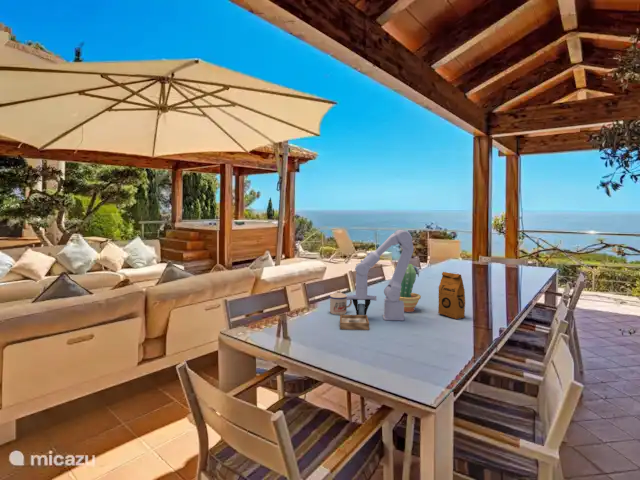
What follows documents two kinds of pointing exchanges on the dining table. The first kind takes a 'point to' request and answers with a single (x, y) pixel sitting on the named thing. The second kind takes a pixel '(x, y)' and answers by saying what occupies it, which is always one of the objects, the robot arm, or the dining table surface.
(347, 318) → the tray box
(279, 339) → the dining table surface
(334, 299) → the beige mug
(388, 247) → the robot arm
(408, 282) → the potted cactus
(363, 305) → the peg
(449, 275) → the coffee package
